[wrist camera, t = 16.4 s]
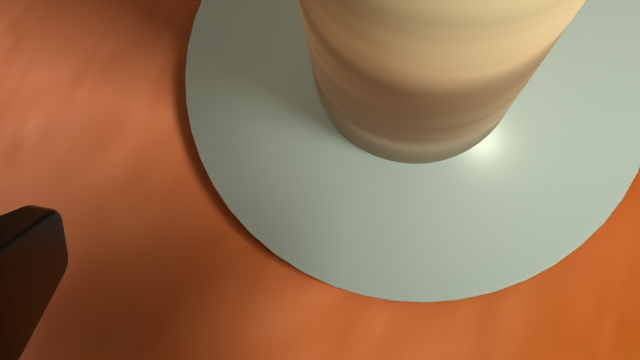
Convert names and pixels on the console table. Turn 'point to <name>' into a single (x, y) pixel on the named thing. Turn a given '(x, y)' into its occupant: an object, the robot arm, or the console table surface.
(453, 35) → the birch post
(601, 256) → the console table surface
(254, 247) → the console table surface
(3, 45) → the console table surface
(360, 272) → the plate
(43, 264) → the robot arm
